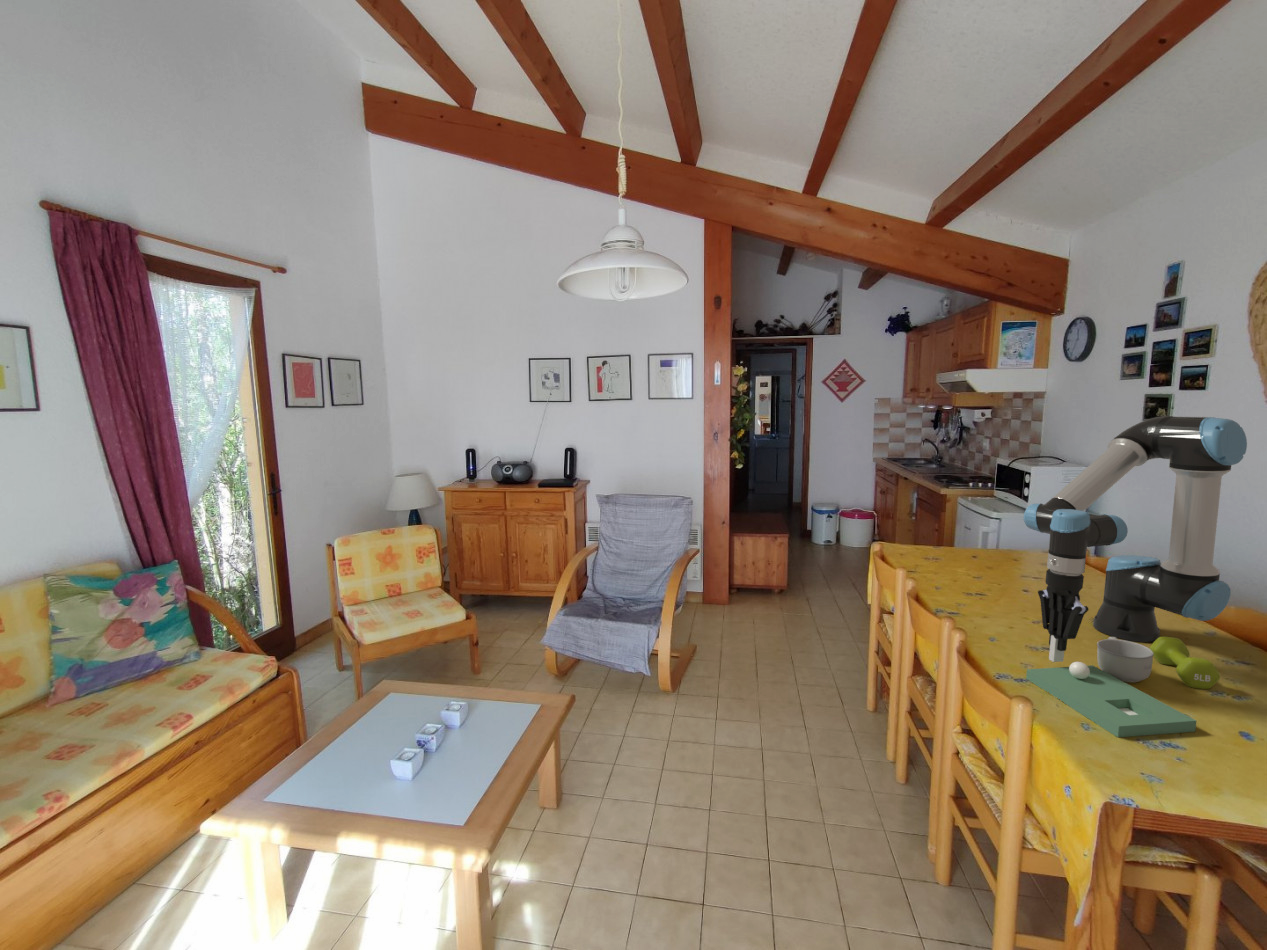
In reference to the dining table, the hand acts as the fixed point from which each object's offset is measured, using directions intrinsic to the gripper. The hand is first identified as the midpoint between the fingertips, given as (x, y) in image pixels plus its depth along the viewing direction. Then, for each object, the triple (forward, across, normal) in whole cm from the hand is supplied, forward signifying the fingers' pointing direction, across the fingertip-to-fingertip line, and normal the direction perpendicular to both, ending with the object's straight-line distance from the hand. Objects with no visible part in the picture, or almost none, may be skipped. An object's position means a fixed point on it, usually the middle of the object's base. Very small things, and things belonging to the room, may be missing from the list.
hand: (1056, 660), depth 147 cm
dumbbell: (+4, +4, +32) cm, 32 cm away
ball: (-1, +7, 0) cm, 7 cm away
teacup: (+4, +2, +16) cm, 17 cm away
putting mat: (+4, +14, 0) cm, 14 cm away
